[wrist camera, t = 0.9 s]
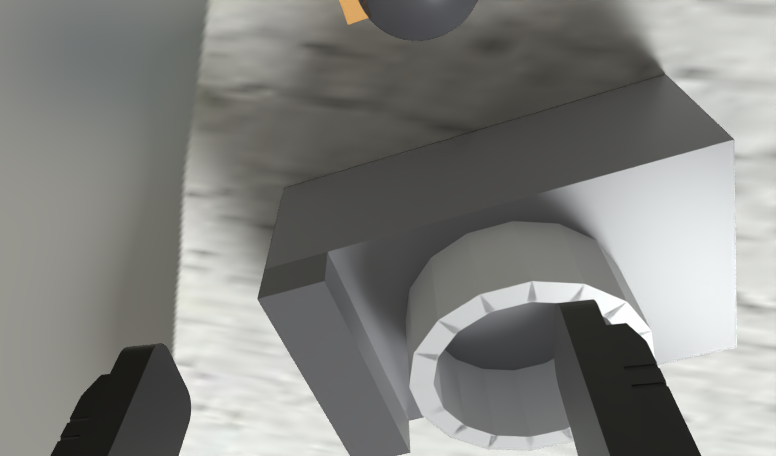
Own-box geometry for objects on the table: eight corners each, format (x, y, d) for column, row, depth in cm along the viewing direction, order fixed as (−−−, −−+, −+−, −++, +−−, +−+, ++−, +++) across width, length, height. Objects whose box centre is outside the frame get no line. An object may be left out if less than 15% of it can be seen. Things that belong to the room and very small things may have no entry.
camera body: (665, 74, 30) (790, 192, 21) (680, 261, 37) (779, 412, 28) (284, 188, 33) (249, 332, 24) (359, 340, 40) (354, 500, 31)
